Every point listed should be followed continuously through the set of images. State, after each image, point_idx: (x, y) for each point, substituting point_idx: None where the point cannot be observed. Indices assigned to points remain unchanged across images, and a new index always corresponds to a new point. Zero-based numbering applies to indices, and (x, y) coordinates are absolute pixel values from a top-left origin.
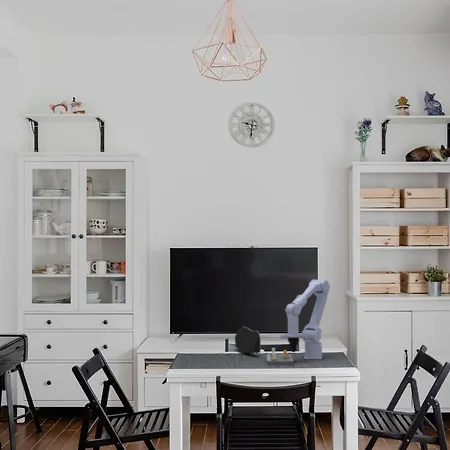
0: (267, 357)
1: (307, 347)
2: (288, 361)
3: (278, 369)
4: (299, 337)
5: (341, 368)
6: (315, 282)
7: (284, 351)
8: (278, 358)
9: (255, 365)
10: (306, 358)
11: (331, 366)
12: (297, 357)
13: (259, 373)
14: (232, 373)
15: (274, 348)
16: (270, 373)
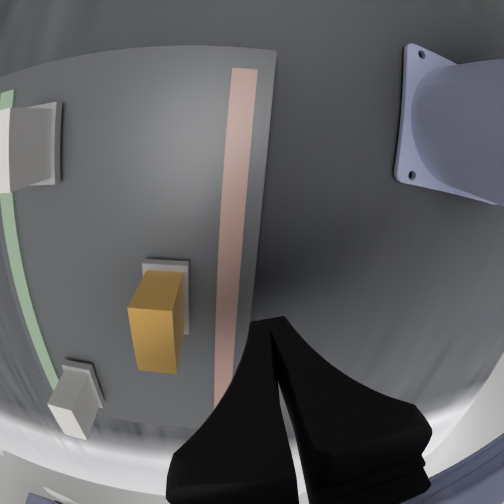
0: (11, 267)
1: (500, 184)
2: (198, 428)
3: (148, 463)
4: (440, 490)
5: (437, 422)
6: None
7: (147, 367)
8: (104, 325)
9: (14, 376)
10: (409, 183)
11: (430, 401)
12: (341, 44)
13: (93, 481)
14: (19, 456)
15: (4, 147)
16: (130, 489)
